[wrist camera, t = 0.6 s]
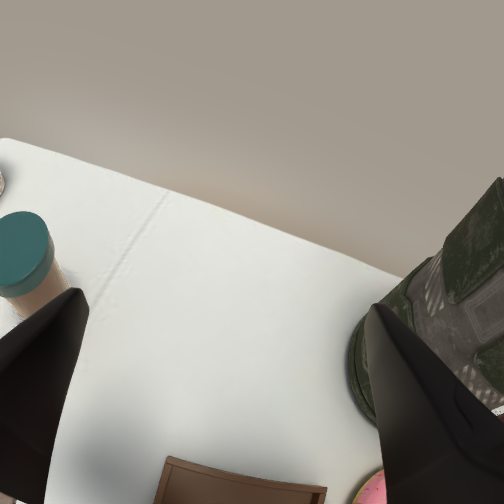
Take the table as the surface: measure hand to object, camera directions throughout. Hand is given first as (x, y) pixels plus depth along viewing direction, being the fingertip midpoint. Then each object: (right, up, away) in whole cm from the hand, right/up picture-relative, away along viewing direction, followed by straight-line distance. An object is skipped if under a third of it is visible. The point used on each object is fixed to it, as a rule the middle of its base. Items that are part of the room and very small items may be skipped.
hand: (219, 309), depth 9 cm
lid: (-16, +2, +9) cm, 19 cm away
